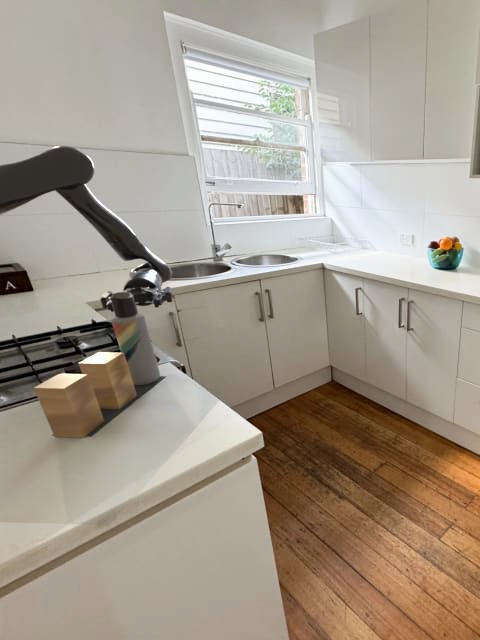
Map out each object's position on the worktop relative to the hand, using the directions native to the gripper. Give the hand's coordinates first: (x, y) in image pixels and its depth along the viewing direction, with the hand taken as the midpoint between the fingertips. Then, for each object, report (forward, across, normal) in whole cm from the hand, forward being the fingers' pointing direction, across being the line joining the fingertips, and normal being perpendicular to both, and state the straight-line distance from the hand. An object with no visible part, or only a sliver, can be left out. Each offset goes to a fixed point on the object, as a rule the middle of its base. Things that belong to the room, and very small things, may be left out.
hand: (134, 305), depth 88 cm
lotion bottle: (+11, 0, +14) cm, 18 cm away
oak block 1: (+27, -8, +14) cm, 32 cm away
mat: (+19, -4, +15) cm, 24 cm away
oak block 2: (+19, -4, +14) cm, 24 cm away
